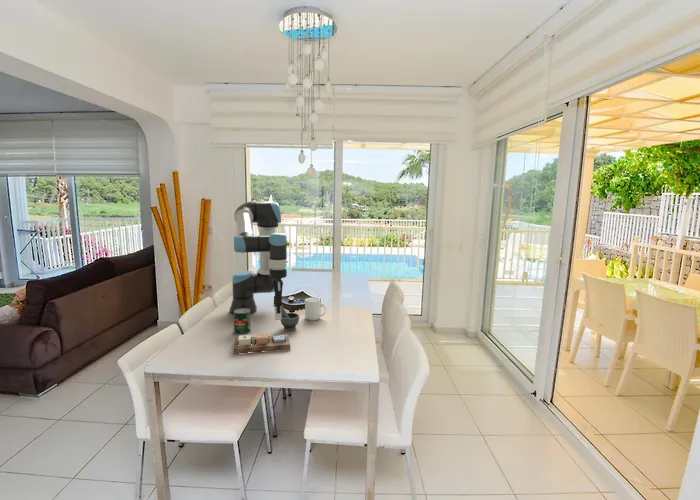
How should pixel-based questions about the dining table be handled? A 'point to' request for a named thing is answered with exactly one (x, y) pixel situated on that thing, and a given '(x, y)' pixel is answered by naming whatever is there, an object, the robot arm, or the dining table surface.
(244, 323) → the canned tomato
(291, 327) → the mortar and pestle
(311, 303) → the mug
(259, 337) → the button block
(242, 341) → the button block
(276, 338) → the button block
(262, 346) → the button board
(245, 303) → the robot arm
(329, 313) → the dining table surface
